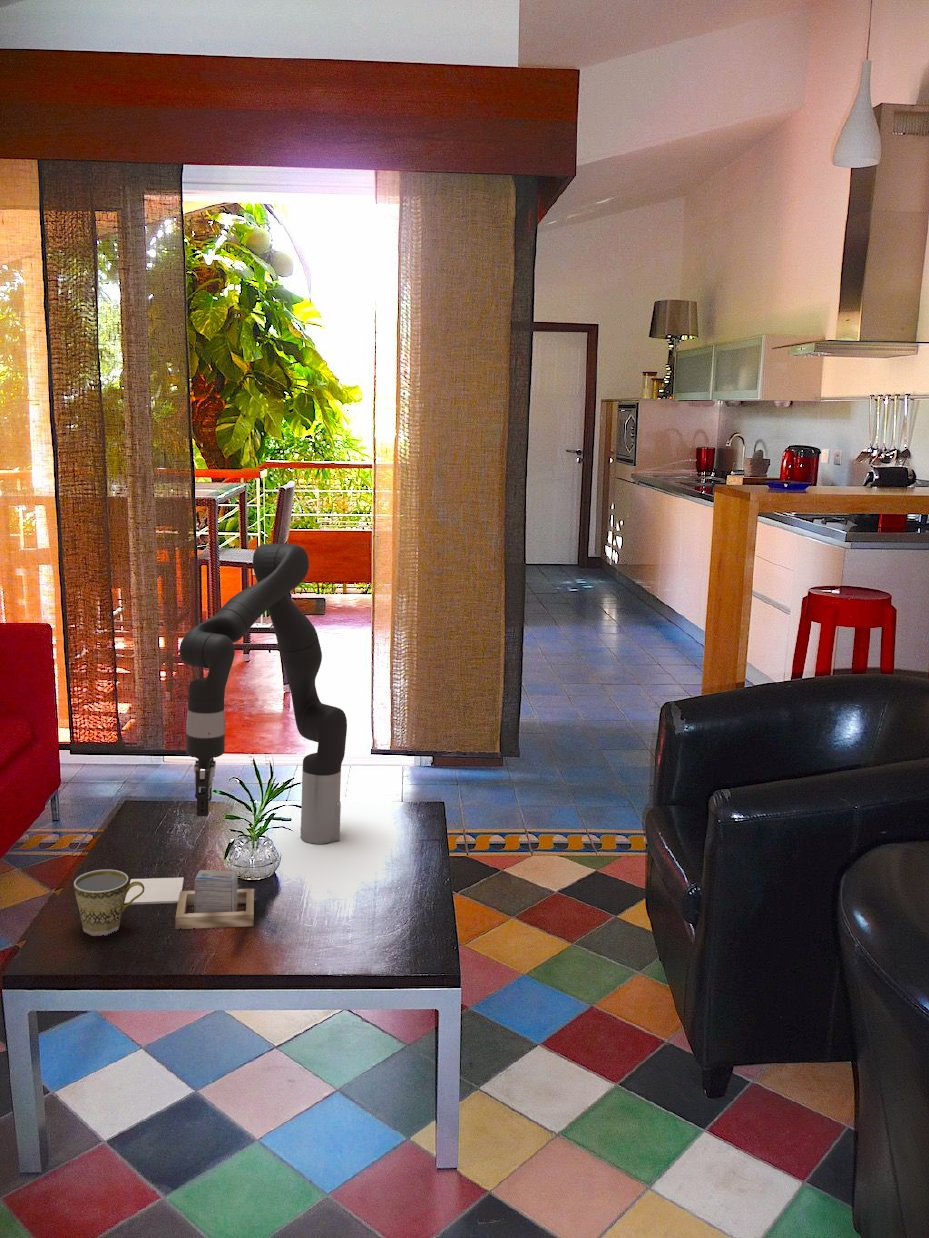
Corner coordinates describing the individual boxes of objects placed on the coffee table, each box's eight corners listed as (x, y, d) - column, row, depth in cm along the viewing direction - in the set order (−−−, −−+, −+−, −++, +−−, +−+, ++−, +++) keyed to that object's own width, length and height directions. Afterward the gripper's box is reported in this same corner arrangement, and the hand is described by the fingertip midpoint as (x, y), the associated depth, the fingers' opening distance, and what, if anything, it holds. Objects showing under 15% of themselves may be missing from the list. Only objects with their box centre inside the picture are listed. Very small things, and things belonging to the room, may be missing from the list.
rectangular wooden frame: (253, 899, 213) (254, 888, 213) (253, 926, 202) (253, 914, 202) (179, 902, 210) (180, 891, 210) (175, 929, 199) (175, 917, 199)
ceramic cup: (70, 941, 192) (69, 892, 190) (79, 916, 202) (78, 869, 200) (141, 938, 195) (141, 890, 193) (147, 914, 204) (147, 867, 202)
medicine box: (237, 909, 208) (238, 870, 207) (233, 920, 204) (234, 879, 202) (198, 908, 208) (199, 868, 206) (193, 918, 204) (194, 878, 202)
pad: (183, 879, 220) (183, 877, 220) (179, 902, 210) (179, 900, 210) (130, 881, 218) (130, 879, 218) (124, 904, 208) (124, 902, 208)
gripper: (222, 741, 196) (220, 821, 199) (227, 721, 210) (225, 795, 213) (182, 741, 195) (181, 821, 197) (189, 720, 208) (188, 795, 211)
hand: (204, 808), depth 205 cm, fingers open, 8 cm apart
